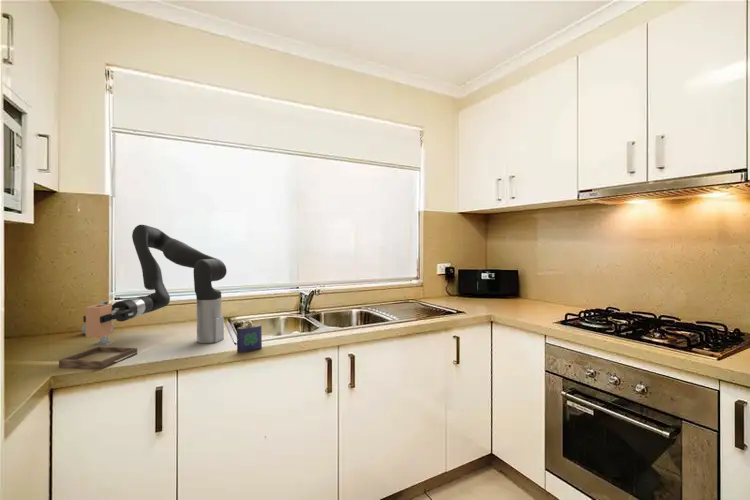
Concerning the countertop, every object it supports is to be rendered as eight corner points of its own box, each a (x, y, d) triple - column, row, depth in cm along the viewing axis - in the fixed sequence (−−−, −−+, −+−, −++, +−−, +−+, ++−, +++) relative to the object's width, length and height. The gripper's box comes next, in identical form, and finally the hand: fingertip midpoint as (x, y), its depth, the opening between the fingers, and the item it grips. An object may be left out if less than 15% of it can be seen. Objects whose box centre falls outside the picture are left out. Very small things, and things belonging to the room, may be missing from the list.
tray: (137, 354, 131) (137, 348, 131) (101, 369, 116) (101, 362, 116) (99, 352, 132) (99, 346, 132) (59, 367, 118) (58, 360, 117)
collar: (111, 333, 126) (111, 304, 126) (100, 337, 121) (100, 307, 121) (97, 332, 127) (97, 304, 126) (85, 337, 122) (85, 307, 121)
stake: (117, 343, 144) (116, 300, 143) (105, 348, 138) (105, 303, 137) (102, 343, 144) (101, 300, 143) (90, 347, 138) (89, 303, 137)
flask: (260, 347, 140) (260, 319, 140) (263, 349, 138) (263, 320, 138) (236, 351, 135) (235, 323, 134) (238, 353, 132) (238, 324, 132)
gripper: (109, 298, 138) (71, 307, 121) (147, 299, 138) (113, 309, 121) (110, 318, 138) (71, 330, 121) (147, 319, 138) (113, 331, 121)
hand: (92, 319), depth 121 cm, fingers closed on collar, 5 cm apart
